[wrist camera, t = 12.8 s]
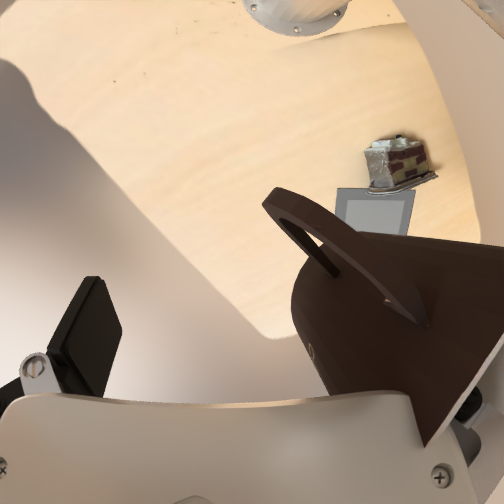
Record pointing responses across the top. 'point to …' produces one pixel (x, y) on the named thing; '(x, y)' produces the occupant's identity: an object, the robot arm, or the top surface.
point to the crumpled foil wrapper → (396, 166)
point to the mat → (375, 210)
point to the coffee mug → (397, 312)
